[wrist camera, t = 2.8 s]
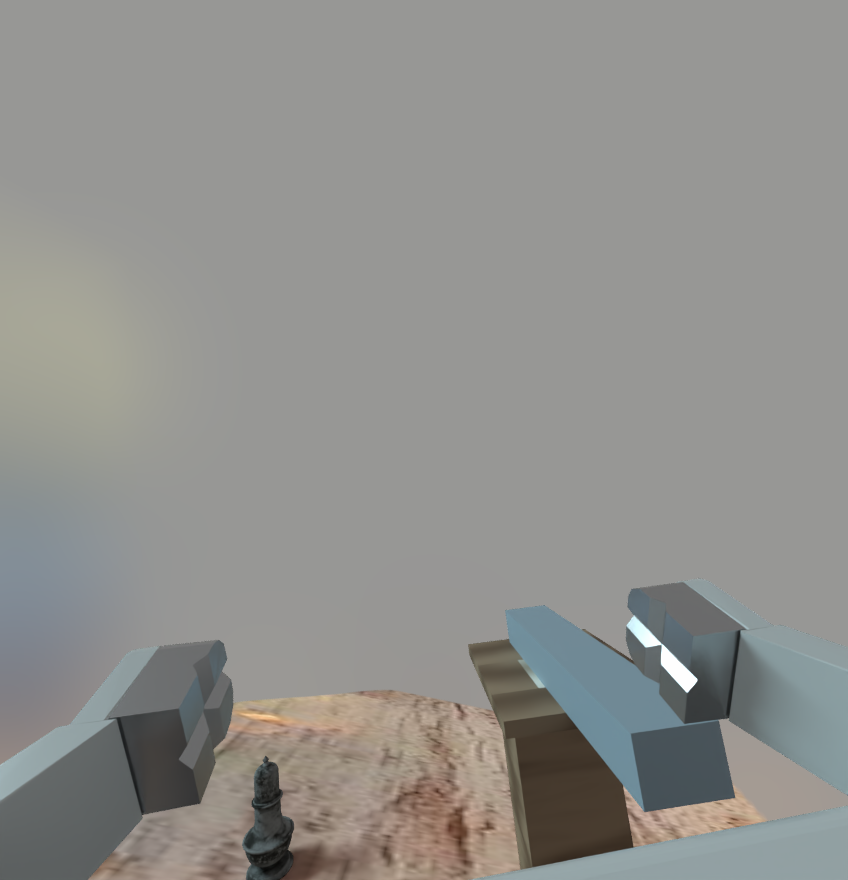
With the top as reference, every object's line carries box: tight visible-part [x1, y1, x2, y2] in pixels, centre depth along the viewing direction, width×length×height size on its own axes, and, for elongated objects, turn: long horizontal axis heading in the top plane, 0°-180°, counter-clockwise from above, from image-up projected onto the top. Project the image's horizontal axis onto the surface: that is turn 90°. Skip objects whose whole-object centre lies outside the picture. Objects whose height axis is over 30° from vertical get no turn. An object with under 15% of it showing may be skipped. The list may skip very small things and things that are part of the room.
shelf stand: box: [468, 629, 636, 870], centre depth 33 cm, size 17×14×26 cm
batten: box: [505, 605, 735, 812], centre depth 30 cm, size 24×4×3 cm, turn 2°
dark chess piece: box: [242, 756, 294, 880], centre depth 51 cm, size 6×6×12 cm
